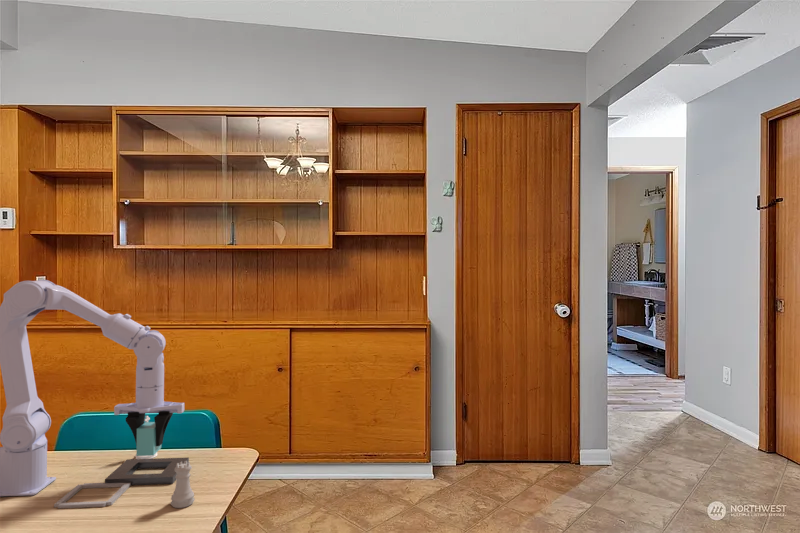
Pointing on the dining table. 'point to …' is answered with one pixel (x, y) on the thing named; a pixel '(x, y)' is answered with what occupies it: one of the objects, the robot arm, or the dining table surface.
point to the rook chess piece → (182, 486)
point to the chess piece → (146, 456)
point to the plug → (147, 440)
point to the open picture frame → (62, 501)
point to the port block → (131, 465)
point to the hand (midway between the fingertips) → (149, 445)
